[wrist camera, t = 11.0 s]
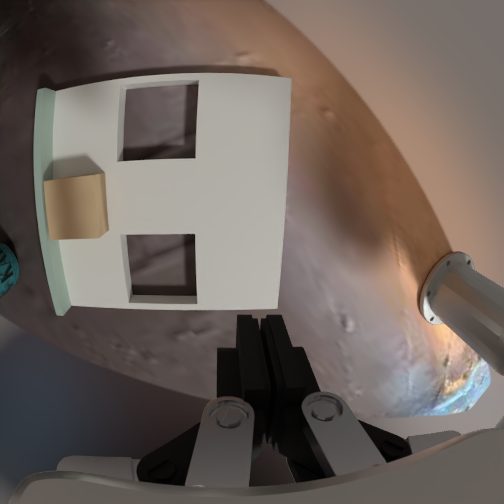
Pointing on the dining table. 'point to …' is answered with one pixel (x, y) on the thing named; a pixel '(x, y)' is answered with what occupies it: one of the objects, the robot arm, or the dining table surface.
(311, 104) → the dining table surface
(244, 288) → the board
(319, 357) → the dining table surface
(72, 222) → the block
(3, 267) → the beverage bottle
